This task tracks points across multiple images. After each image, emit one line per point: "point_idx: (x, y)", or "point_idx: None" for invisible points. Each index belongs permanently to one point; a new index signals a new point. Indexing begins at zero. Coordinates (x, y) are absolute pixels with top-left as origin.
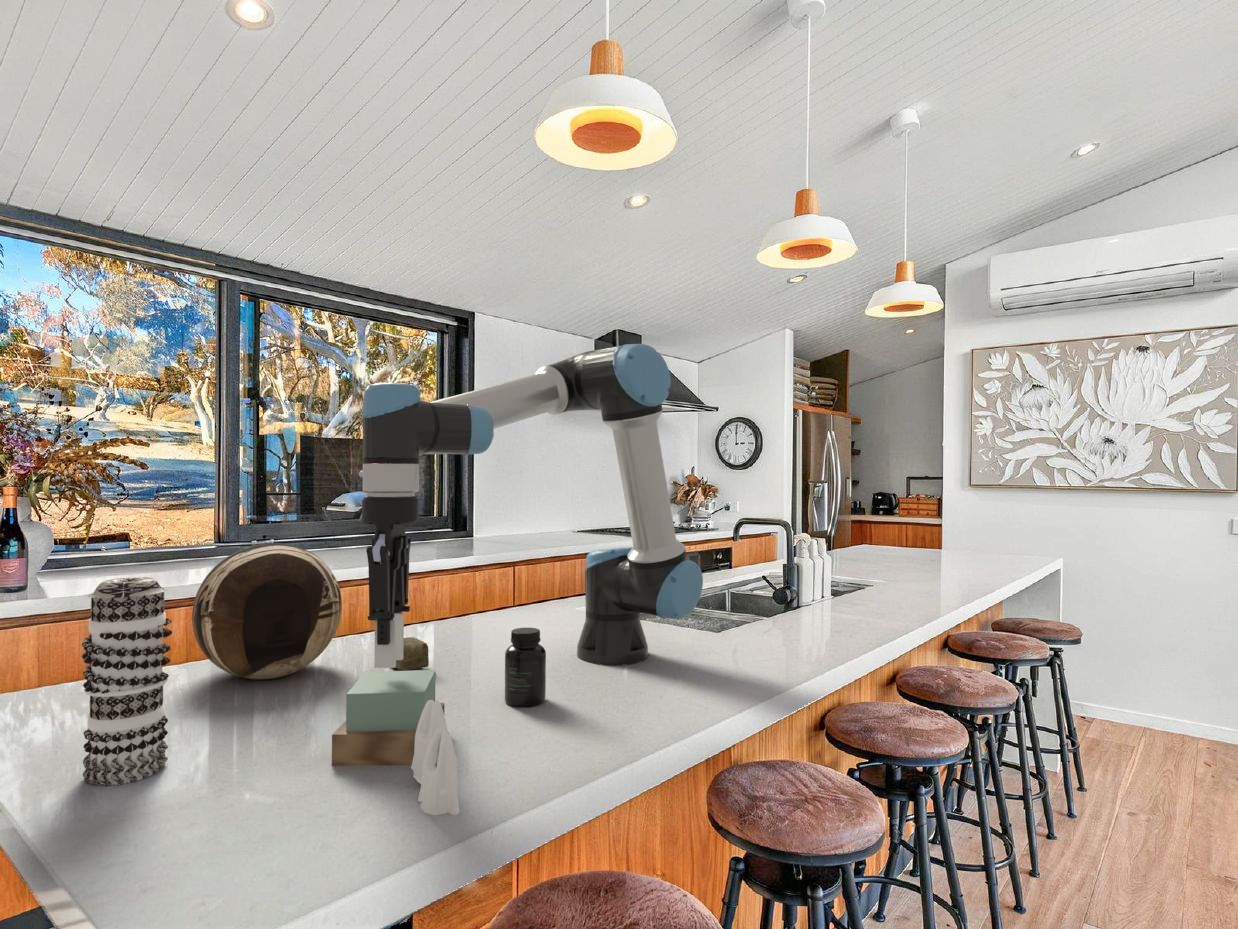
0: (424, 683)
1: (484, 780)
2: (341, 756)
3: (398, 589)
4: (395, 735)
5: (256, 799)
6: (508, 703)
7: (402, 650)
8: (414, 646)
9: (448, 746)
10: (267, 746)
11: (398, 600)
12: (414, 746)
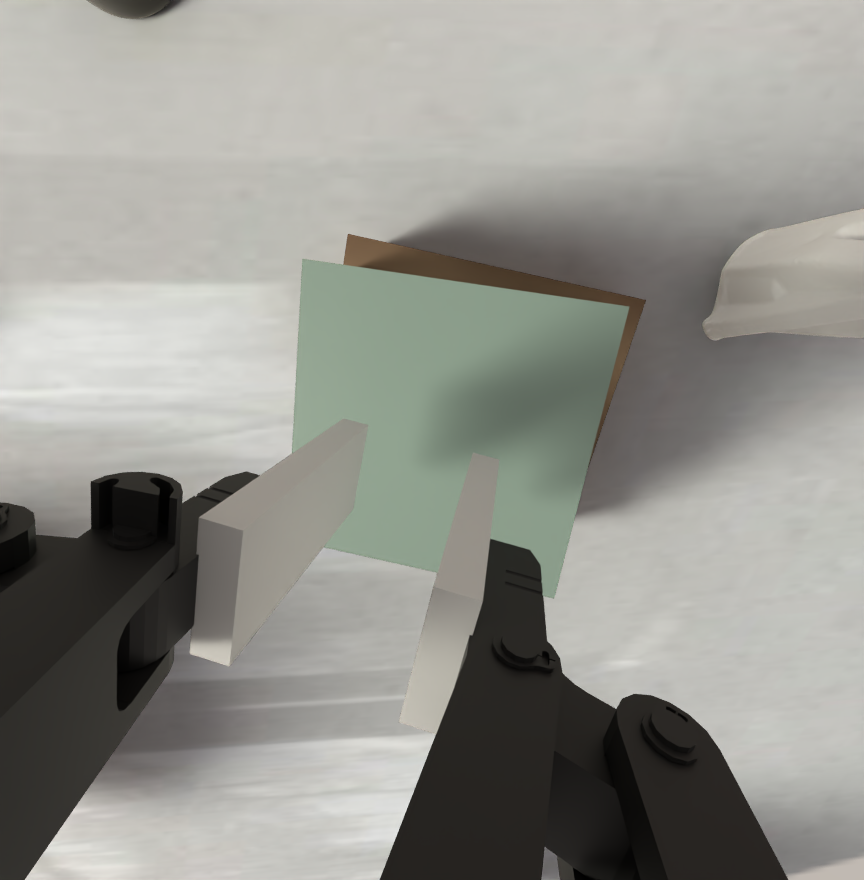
0: (502, 308)
1: (775, 115)
2: None
3: (5, 761)
4: (610, 396)
5: (651, 648)
6: (165, 3)
7: (343, 435)
8: None
9: None
10: (371, 647)
11: (116, 637)
12: (837, 336)
